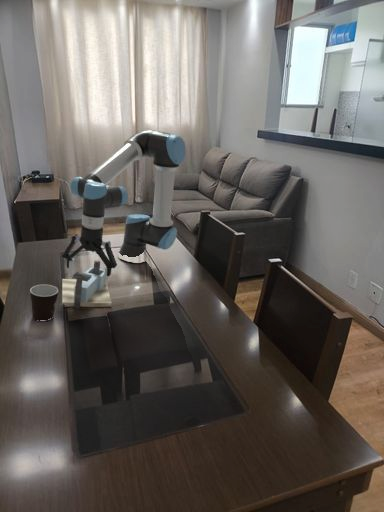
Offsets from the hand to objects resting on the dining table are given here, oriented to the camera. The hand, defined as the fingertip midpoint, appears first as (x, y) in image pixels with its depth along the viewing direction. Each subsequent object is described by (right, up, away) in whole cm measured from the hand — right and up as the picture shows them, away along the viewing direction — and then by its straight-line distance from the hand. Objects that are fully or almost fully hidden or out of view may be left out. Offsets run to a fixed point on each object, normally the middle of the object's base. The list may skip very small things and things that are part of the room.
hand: (88, 279), depth 136 cm
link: (-1, -5, +5) cm, 7 cm away
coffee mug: (-11, -11, -13) cm, 21 cm away
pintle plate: (-2, -6, +5) cm, 8 cm away
